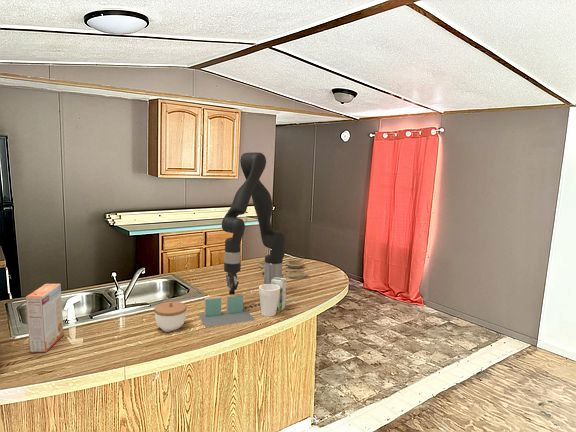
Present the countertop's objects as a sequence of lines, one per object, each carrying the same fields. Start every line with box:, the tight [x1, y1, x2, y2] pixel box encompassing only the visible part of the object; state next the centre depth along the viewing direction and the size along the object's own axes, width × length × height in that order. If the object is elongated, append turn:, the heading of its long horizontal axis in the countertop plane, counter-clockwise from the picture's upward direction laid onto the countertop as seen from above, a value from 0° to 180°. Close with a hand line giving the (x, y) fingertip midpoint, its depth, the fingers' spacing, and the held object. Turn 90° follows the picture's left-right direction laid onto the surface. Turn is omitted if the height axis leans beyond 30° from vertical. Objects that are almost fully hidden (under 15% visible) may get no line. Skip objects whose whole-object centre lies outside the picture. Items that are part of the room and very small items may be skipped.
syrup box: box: [271, 277, 287, 312], centre depth 192 cm, size 6×6×14 cm
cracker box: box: [25, 283, 65, 353], centre depth 148 cm, size 14×6×21 cm, turn 5°
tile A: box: [225, 293, 244, 314], centre depth 184 cm, size 7×2×8 cm, turn 114°
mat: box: [197, 308, 256, 328], centre depth 178 cm, size 22×14×1 cm, turn 114°
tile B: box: [203, 295, 222, 317], centre depth 180 cm, size 7×2×8 cm, turn 114°
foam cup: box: [258, 283, 280, 317], centre depth 184 cm, size 10×9×13 cm
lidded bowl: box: [153, 301, 188, 333], centre depth 166 cm, size 13×13×11 cm
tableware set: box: [257, 259, 309, 279], centre depth 255 cm, size 35×29×4 cm
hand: (231, 297), depth 187 cm, fingers closed
